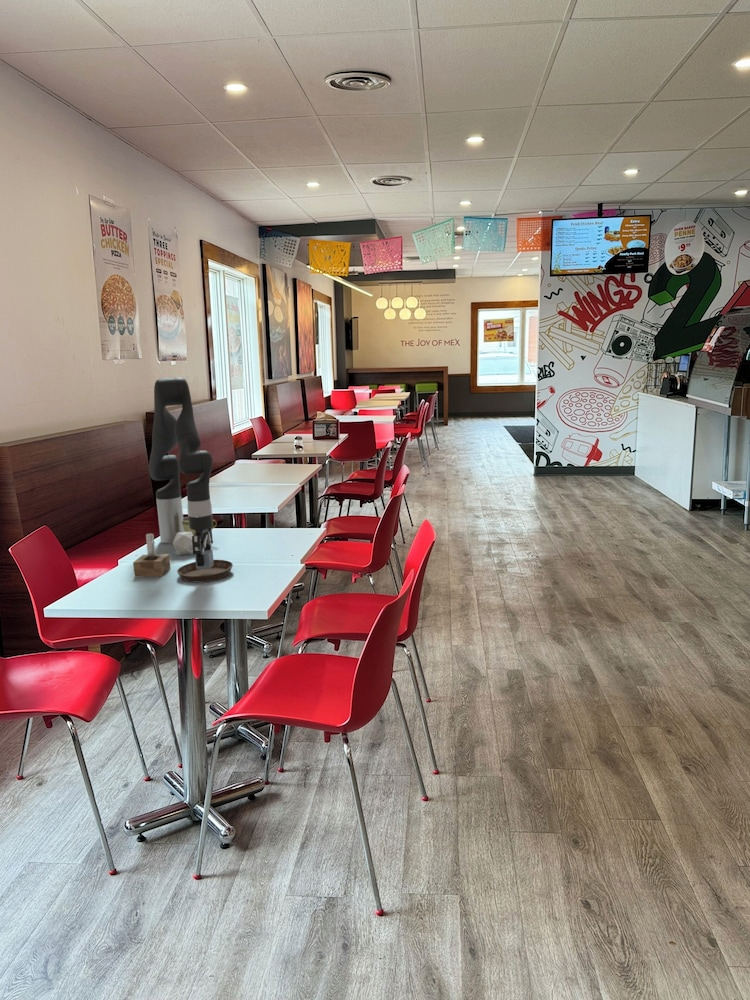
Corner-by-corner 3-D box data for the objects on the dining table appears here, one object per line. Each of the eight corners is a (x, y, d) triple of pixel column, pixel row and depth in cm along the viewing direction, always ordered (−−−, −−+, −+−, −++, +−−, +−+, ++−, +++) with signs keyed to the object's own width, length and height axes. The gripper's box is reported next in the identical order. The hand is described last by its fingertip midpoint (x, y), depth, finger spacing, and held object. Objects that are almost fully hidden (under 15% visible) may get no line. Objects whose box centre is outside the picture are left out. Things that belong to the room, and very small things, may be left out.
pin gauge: (150, 568, 249) (147, 533, 247) (157, 568, 249) (154, 533, 247) (148, 570, 247) (144, 535, 245) (155, 570, 247) (152, 535, 245)
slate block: (200, 565, 245) (199, 550, 244) (213, 565, 245) (212, 550, 244) (196, 569, 241) (194, 554, 240) (210, 569, 240) (208, 554, 239)
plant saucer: (178, 587, 232) (177, 578, 232) (177, 572, 249) (176, 563, 249) (236, 580, 237) (235, 571, 237) (230, 565, 254) (230, 557, 253)
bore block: (144, 568, 253) (143, 554, 252) (170, 568, 252) (169, 554, 251) (134, 577, 244) (133, 562, 243) (161, 576, 244) (160, 561, 243)
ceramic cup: (180, 548, 278) (178, 521, 276) (188, 541, 288) (186, 515, 286) (215, 546, 278) (213, 520, 276) (221, 540, 288) (219, 514, 286)
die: (188, 559, 265) (201, 535, 267) (166, 548, 264) (179, 524, 266) (190, 561, 273) (202, 538, 275) (168, 551, 272) (181, 527, 274)
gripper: (195, 508, 246) (199, 556, 249) (181, 518, 232) (186, 568, 236) (217, 508, 246) (221, 555, 249) (205, 518, 232) (209, 568, 235)
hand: (204, 562), depth 242 cm, fingers open, 8 cm apart
